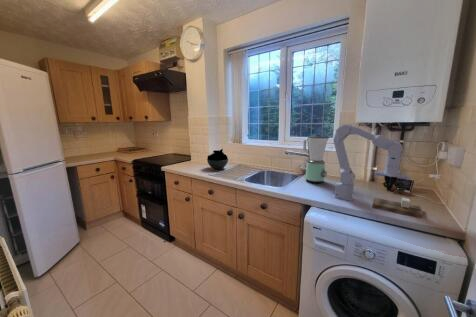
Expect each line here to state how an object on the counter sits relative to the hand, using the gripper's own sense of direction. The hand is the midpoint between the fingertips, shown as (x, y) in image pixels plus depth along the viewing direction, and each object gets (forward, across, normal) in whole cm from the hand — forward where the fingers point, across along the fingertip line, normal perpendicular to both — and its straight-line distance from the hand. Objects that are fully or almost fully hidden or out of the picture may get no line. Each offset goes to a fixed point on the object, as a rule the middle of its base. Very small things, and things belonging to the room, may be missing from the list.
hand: (388, 190), depth 106 cm
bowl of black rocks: (+10, -131, +6) cm, 131 cm away
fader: (+7, +7, 0) cm, 10 cm away
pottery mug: (+10, +3, +32) cm, 33 cm away
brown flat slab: (+9, +4, 0) cm, 10 cm away
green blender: (+10, -46, +22) cm, 52 cm away
